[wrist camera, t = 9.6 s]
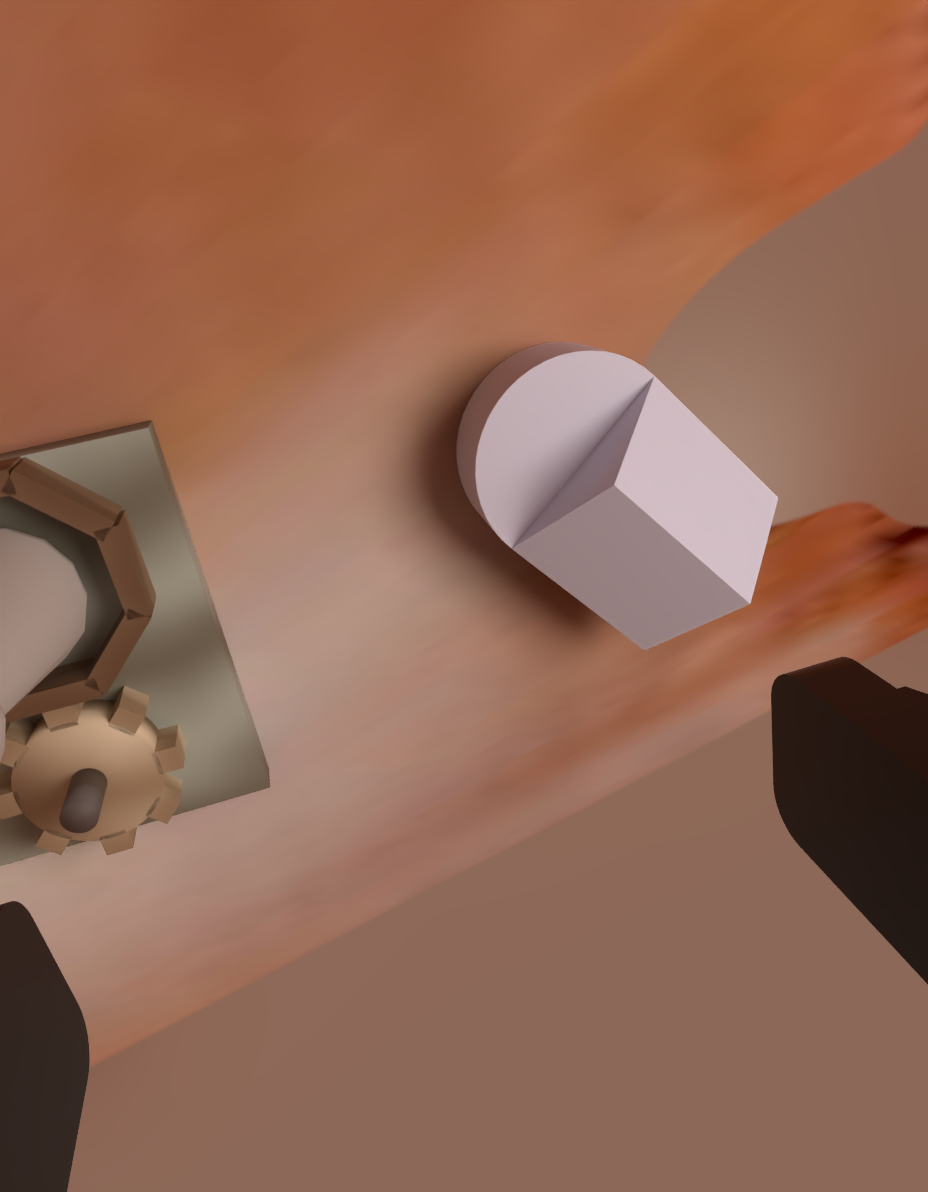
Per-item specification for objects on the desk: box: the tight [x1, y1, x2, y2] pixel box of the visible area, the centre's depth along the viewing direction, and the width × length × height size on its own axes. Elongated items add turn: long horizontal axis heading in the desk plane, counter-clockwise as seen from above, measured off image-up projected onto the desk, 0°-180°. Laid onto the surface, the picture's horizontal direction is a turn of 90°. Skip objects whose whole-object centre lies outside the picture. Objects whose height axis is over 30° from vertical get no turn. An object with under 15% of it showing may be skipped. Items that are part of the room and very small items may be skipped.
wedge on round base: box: [456, 342, 778, 650], centre depth 35 cm, size 9×7×13 cm
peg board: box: [0, 420, 270, 866], centre depth 33 cm, size 17×13×6 cm
